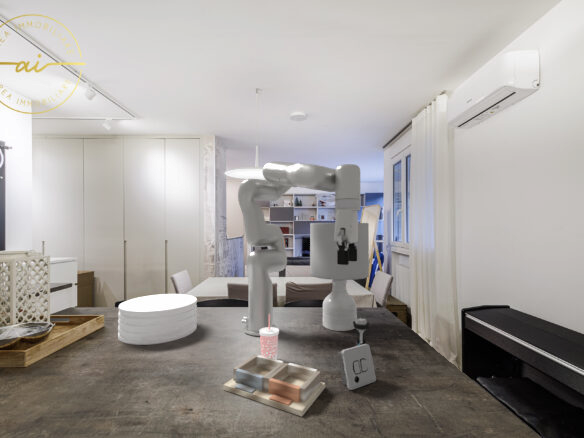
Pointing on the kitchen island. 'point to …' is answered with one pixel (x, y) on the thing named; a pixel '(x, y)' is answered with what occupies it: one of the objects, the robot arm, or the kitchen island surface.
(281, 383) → the socket board
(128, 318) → the plate stack
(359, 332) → the push button
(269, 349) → the beverage cup
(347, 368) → the electrical switch
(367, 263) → the lamp
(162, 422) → the kitchen island surface
